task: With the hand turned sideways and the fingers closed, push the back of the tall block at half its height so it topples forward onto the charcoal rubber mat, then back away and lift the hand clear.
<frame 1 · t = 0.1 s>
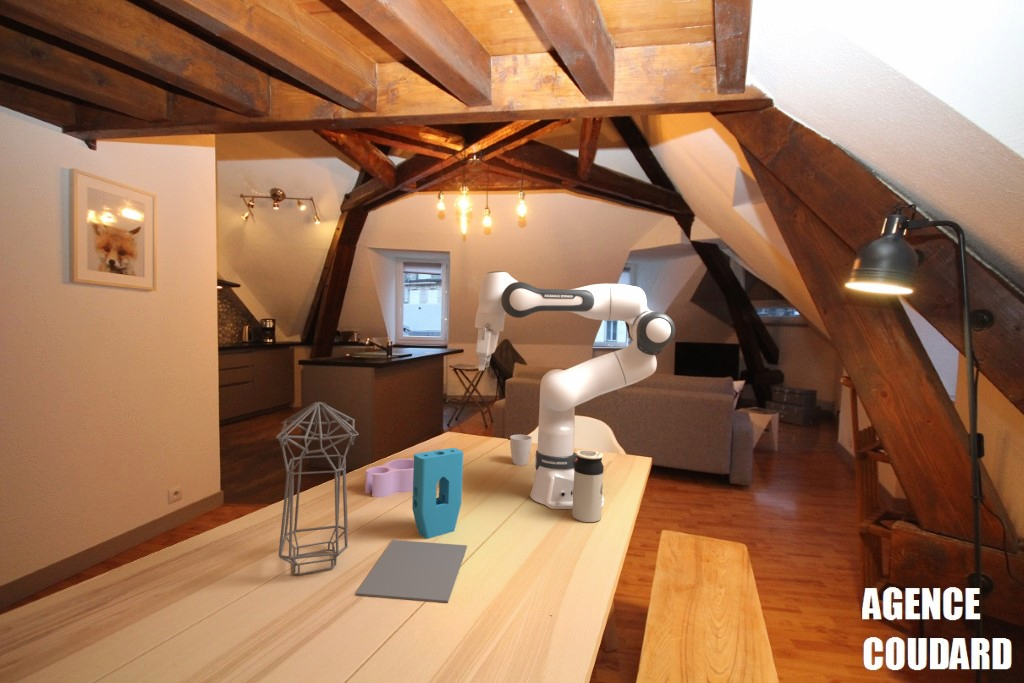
hand: (483, 368, 144), 39 cm above the table, tool pointing down, fingers open, 8 cm apart
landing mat: (417, 568, 101), on the table
geometric lantern: (315, 564, 101), on the table
travel mug: (586, 517, 131), on the table
clip: (397, 488, 148), on the table
cup: (519, 463, 177), on the table
block: (436, 531, 119), on the table
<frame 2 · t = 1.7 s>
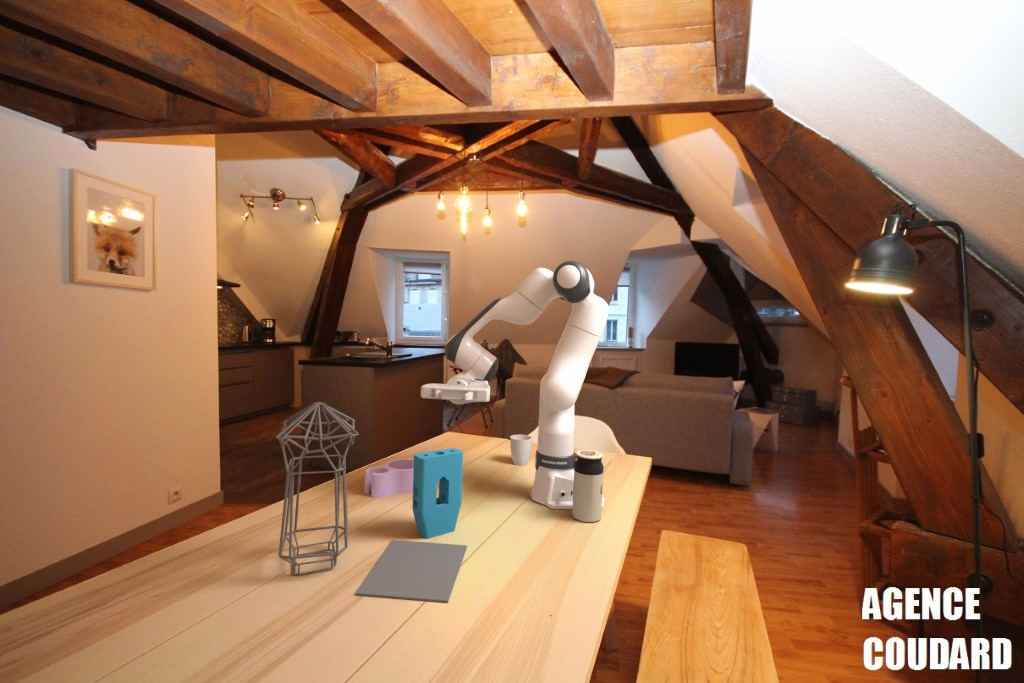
hand: (451, 396, 130), 32 cm above the table, tool horizontal, fingers open, 6 cm apart
nothing on the table moved.
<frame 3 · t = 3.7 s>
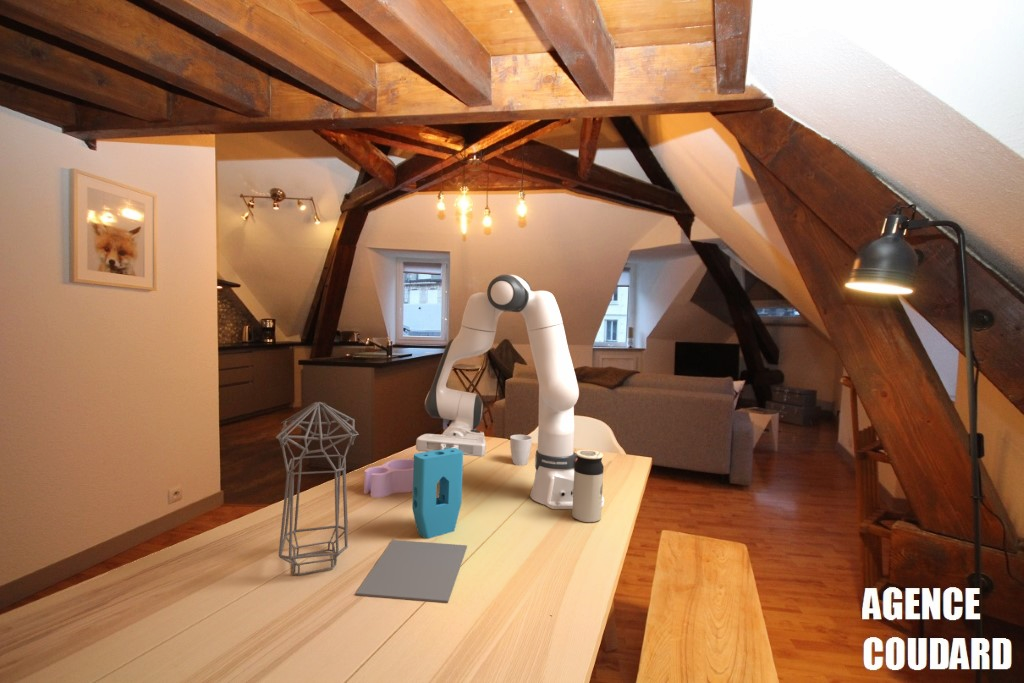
hand: (446, 452, 130), 17 cm above the table, tool horizontal, fingers closed
nothing on the table moved.
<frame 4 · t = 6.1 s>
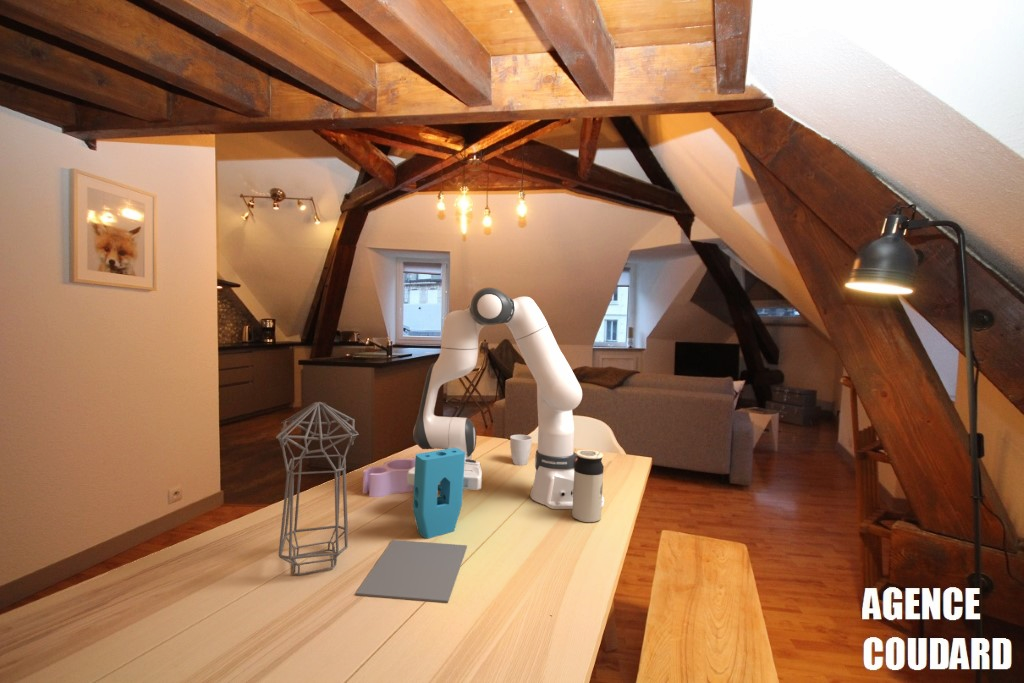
hand: (438, 487, 120), 10 cm above the table, tool horizontal, fingers closed
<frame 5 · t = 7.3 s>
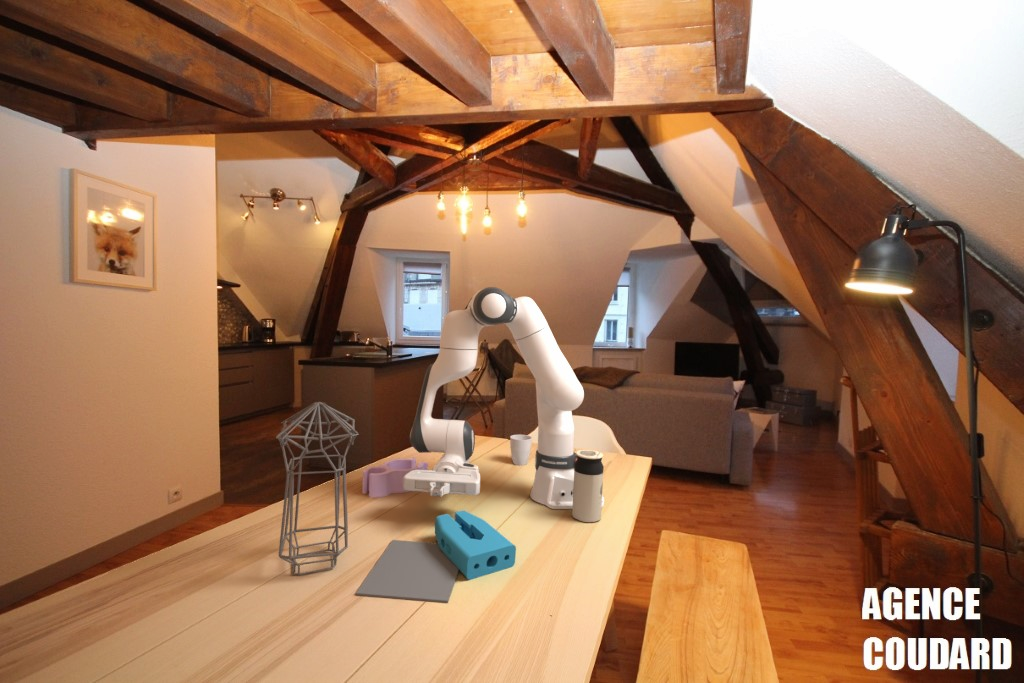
hand: (436, 493, 116), 10 cm above the table, tool horizontal, fingers closed
block: (450, 522, 117), point 3 cm above the table, touching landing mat
everything else where it was.
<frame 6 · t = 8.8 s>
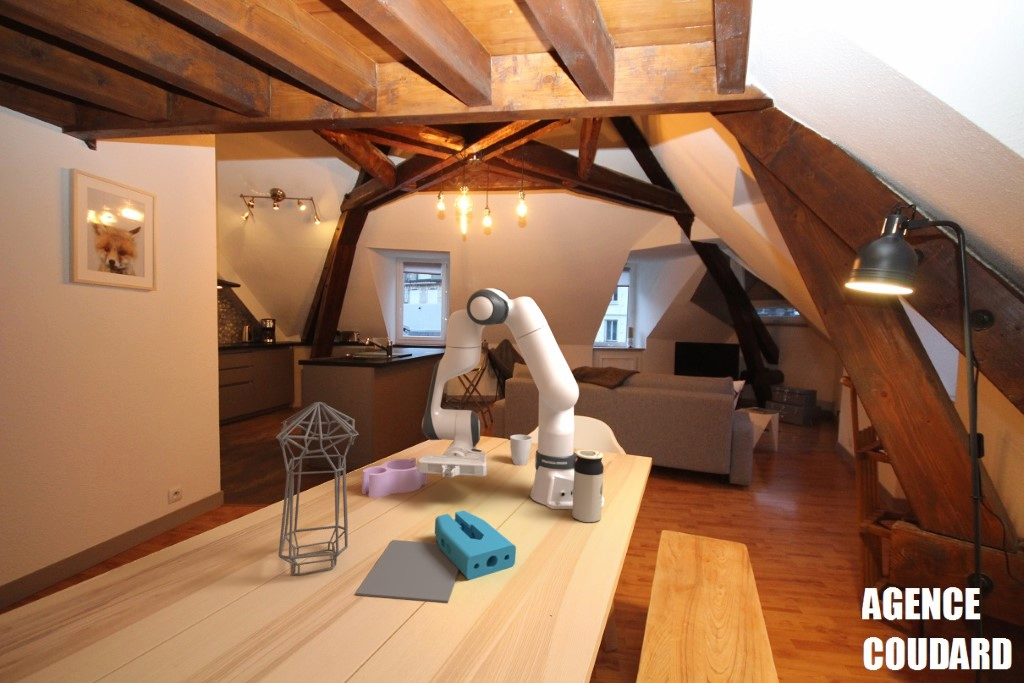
hand: (447, 474, 129), 11 cm above the table, tool horizontal, fingers closed
nothing on the table moved.
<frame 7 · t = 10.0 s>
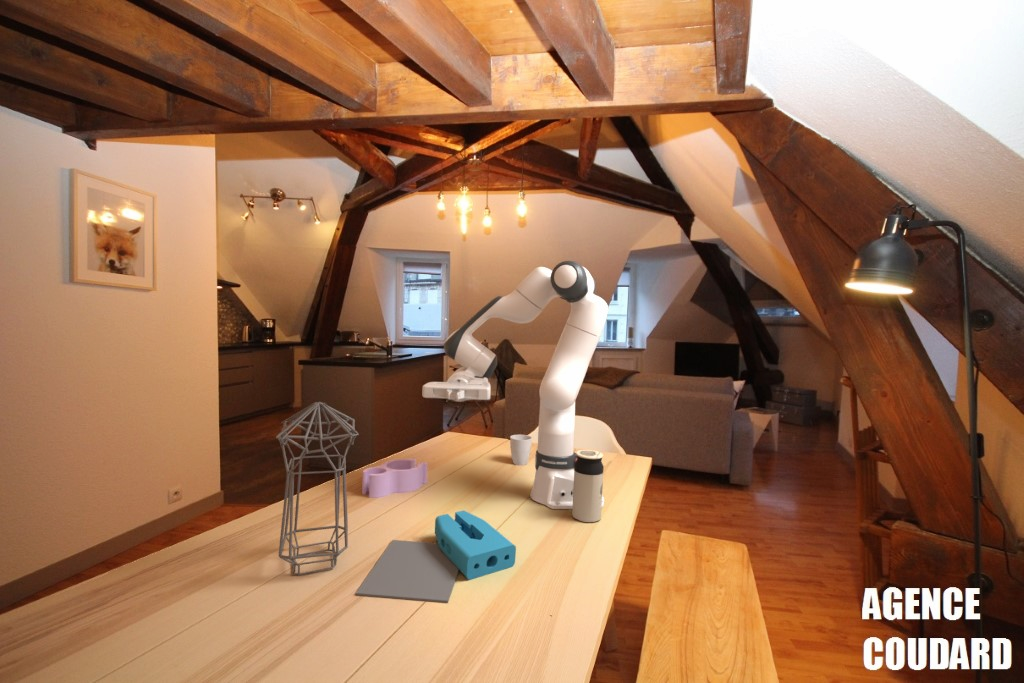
hand: (453, 396, 133), 32 cm above the table, tool horizontal, fingers closed
nothing on the table moved.
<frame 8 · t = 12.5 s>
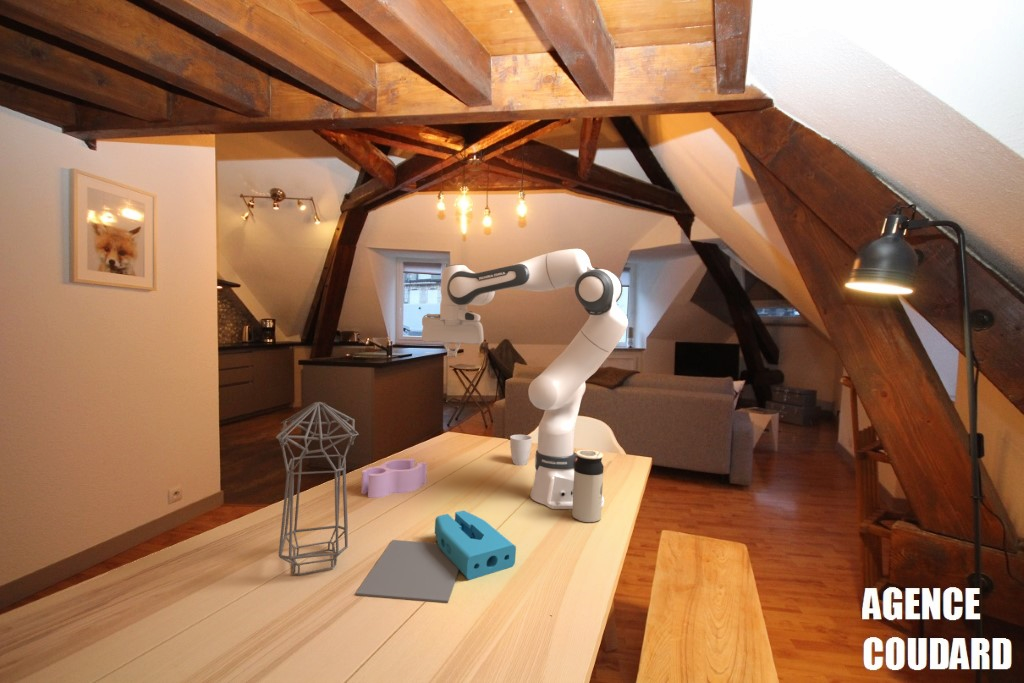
hand: (452, 356, 155), 41 cm above the table, tool pointing down, fingers closed
at the end: block tilted 92°; block inside the target area (8.4 cm from its centre), point 3.2 cm above the table; block touching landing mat, table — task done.
